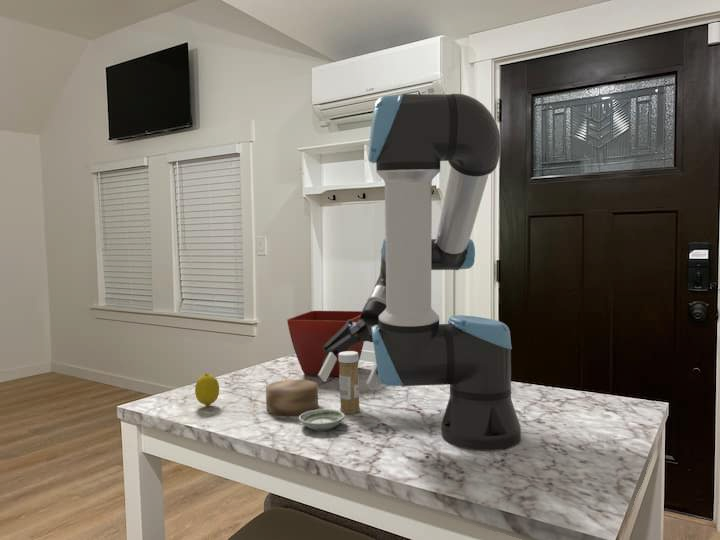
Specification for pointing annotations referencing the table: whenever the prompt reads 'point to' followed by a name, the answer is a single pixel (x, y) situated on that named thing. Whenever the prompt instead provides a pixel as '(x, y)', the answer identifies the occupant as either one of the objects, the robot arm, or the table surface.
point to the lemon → (207, 389)
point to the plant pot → (319, 337)
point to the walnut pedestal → (291, 397)
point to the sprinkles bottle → (349, 381)
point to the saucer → (321, 419)
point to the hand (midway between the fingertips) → (345, 382)
